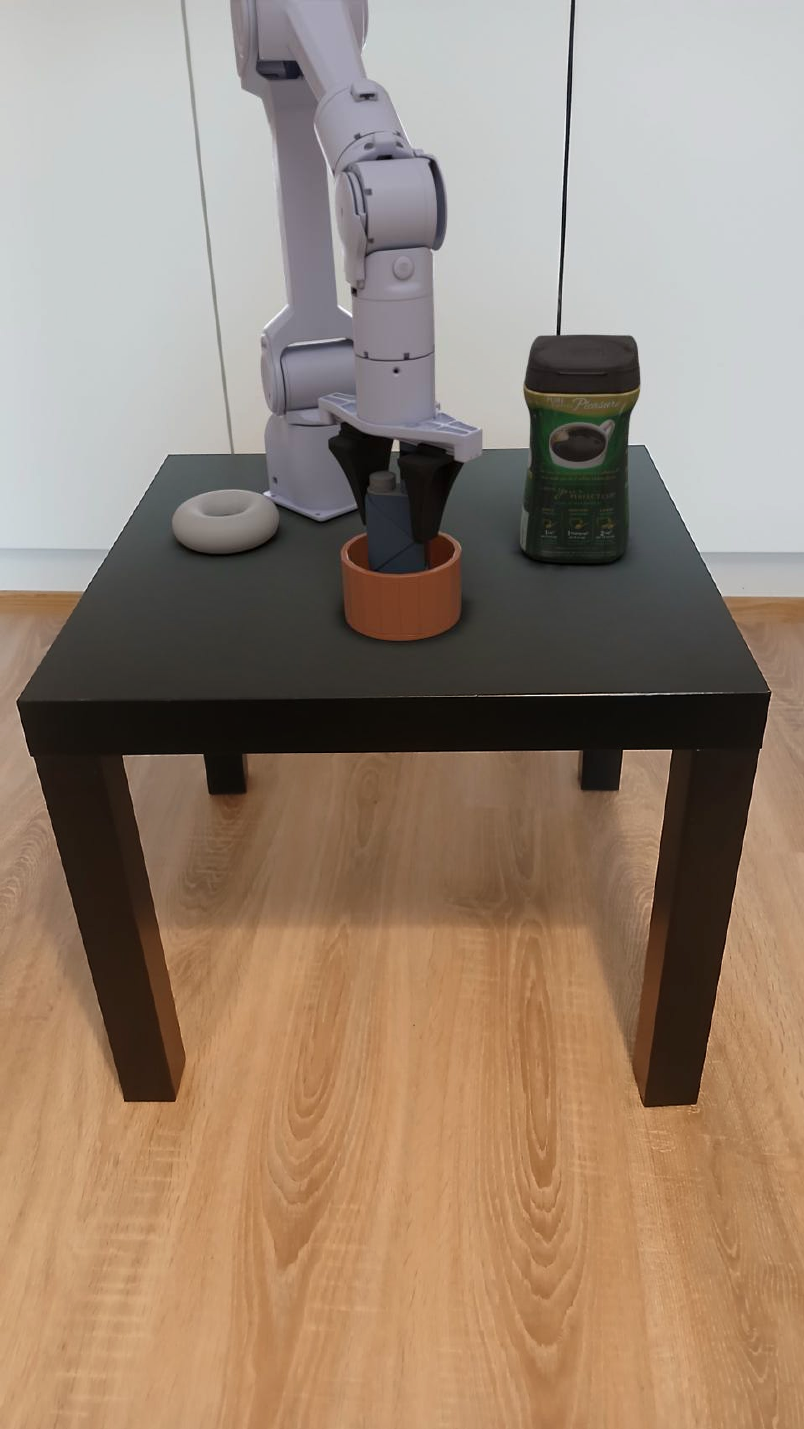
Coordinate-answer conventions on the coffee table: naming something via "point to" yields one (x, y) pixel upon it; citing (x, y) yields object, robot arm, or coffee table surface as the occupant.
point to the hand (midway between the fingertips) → (400, 530)
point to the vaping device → (392, 525)
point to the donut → (225, 521)
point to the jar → (402, 593)
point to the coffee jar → (578, 447)
